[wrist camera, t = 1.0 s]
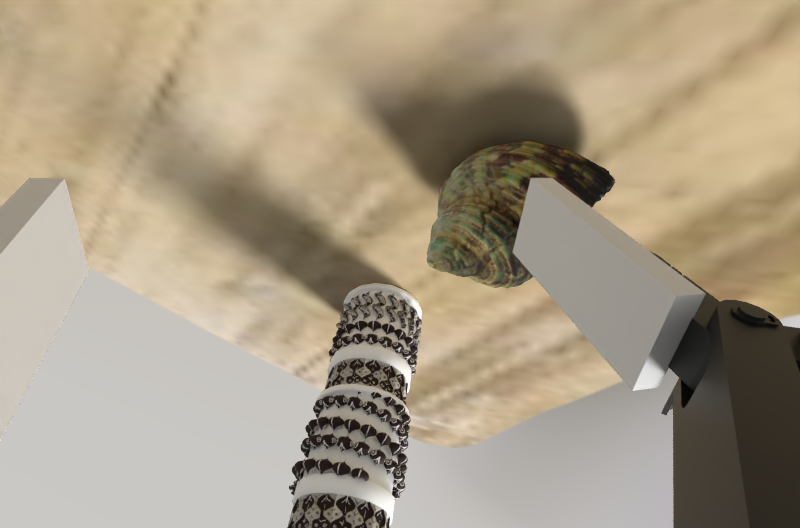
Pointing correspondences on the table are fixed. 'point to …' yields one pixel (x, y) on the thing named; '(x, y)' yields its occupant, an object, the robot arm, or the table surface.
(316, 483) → the white patterned cylinder
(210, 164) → the table surface
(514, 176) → the seashell
